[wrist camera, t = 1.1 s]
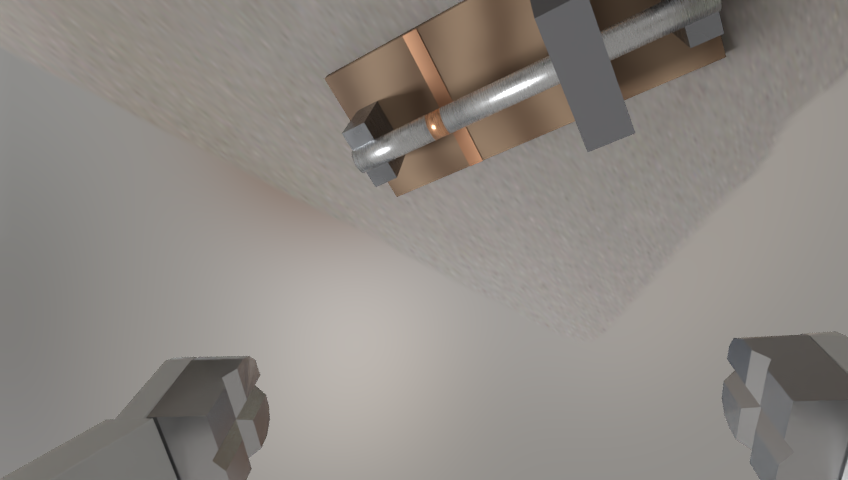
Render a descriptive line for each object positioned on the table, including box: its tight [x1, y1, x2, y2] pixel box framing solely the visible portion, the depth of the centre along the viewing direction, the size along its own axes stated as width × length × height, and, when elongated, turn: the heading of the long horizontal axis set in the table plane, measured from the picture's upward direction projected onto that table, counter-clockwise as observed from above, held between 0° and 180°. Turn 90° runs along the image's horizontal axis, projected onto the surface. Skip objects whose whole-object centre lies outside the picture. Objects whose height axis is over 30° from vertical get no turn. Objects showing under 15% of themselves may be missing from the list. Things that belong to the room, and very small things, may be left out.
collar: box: [530, 0, 635, 152], centre depth 35 cm, size 3×9×9 cm, turn 29°
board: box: [325, 0, 726, 197], centre depth 41 cm, size 28×12×1 cm, turn 118°
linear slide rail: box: [342, 0, 724, 187], centre depth 38 cm, size 26×5×6 cm, turn 118°
